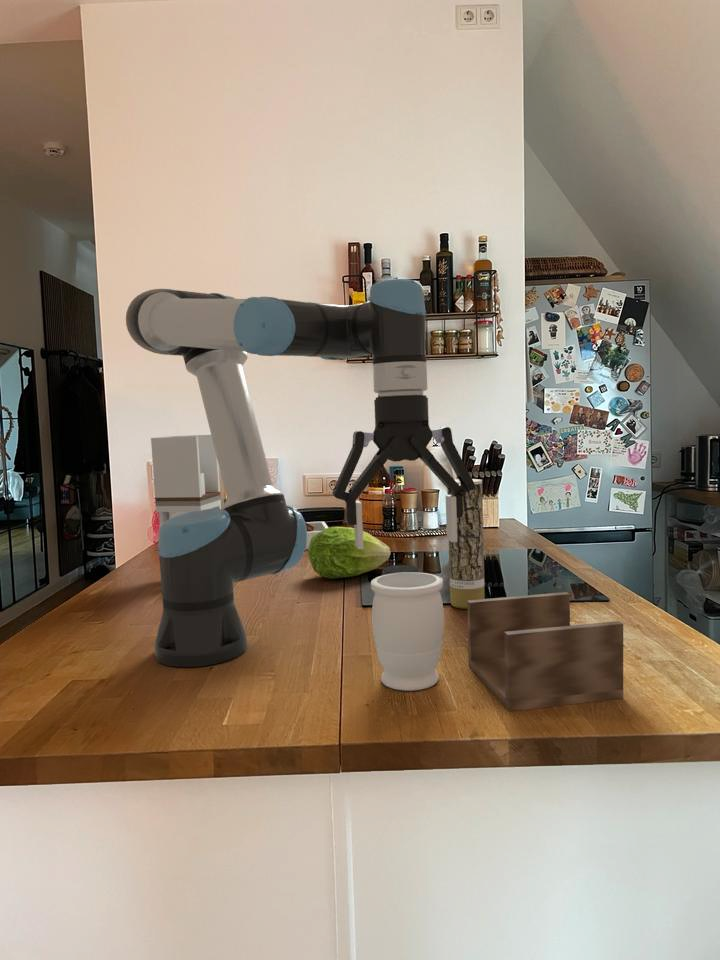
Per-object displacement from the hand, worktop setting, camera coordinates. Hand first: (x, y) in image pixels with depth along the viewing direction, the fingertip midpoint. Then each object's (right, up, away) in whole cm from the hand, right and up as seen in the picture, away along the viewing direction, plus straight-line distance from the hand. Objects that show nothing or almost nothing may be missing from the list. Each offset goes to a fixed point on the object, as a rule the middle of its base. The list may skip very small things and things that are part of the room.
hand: (406, 544), depth 98 cm
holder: (+19, -20, 0) cm, 27 cm away
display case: (-47, -16, +67) cm, 83 cm away
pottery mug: (-25, -11, +109) cm, 112 cm away
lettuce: (-8, -14, +68) cm, 70 cm away
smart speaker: (+3, -15, +56) cm, 58 cm away
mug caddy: (-24, -10, +109) cm, 112 cm away
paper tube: (+15, -16, +39) cm, 44 cm away
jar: (+1, -20, +2) cm, 20 cm away
